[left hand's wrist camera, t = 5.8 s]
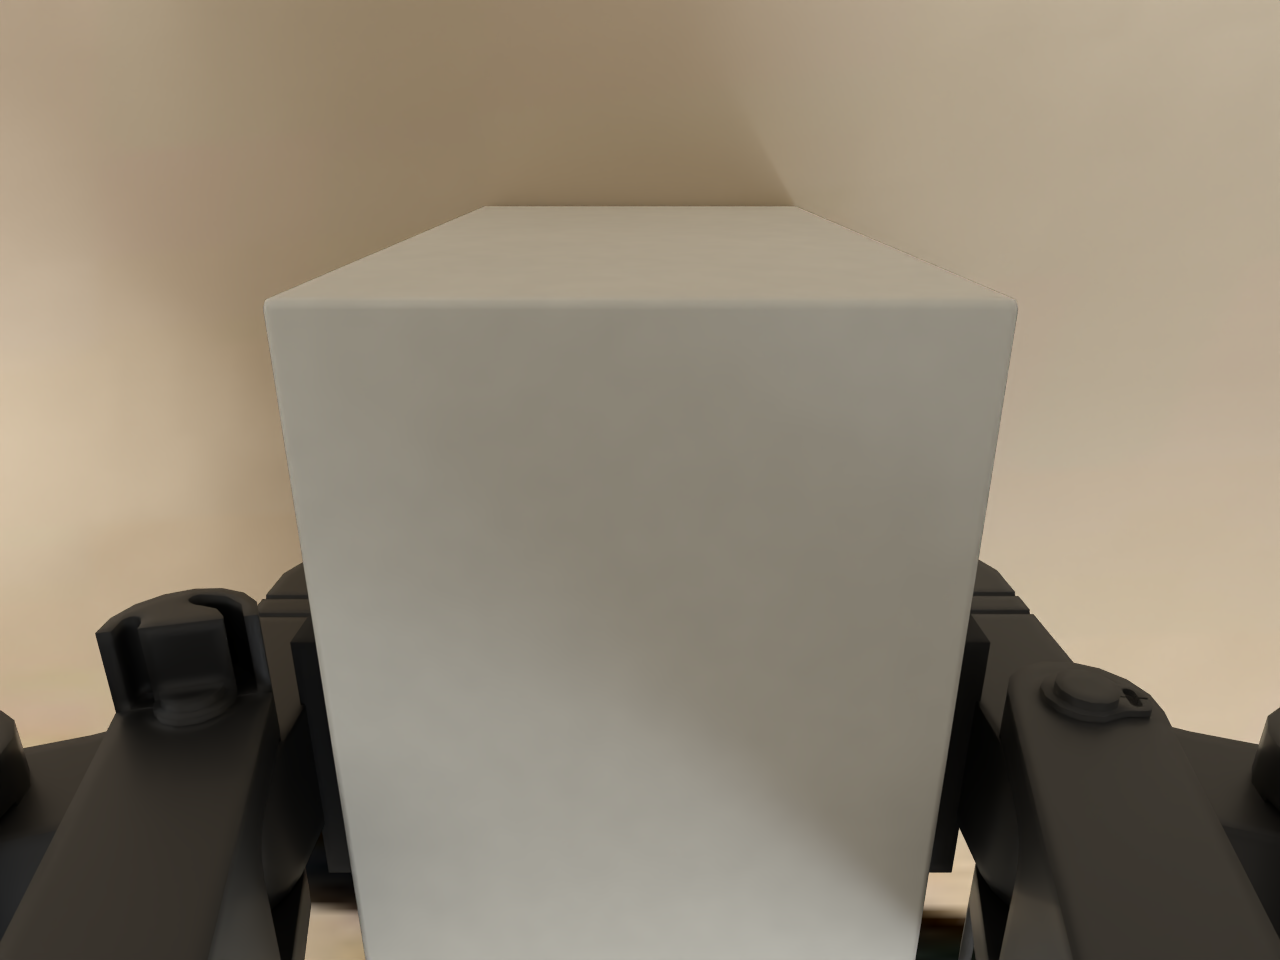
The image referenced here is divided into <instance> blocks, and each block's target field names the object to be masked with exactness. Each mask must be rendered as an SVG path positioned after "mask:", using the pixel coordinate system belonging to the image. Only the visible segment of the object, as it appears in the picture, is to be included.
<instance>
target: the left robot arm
mask: <svg viewBox="0 0 1280 960" xmlns="http://www.w3.org/2000/svg"><path fill="white" fill-rule="evenodd" d="M1029 611H1030V610H1029V608H1028V607H1027V606H1026V605H1025V604H1024V602H1023V601H1022V600H1021V599H1020V598H1019V596H1015V591H1014V590H1013V589H1012V588H1011V587H1010V585H1009V584H1008V583H1007V582H1006V581H1005V579H1004V578H1003V577H1002V576H1001V575H1000V573H999V572H998V571H997V570H995V569H994V568H992V567H990V566H989V565H987V564H985V563H983V562H982V561H980V560H978V565H977V571H976V578H975V584H974V590H973V597H972V603H971V609H970V616H969V622H968V628H967V635H966V641H965V647H964V654H963V660H962V666H961V673H960V679H959V685H958V692H957V698H956V704H955V710H954V717H953V723H952V729H951V736H950V742H949V748H948V755H947V761H946V767H945V774H944V780H943V786H942V793H941V799H940V805H939V812H938V818H937V824H936V831H935V837H934V843H933V850H932V856H931V862H930V869H929V872H952V867H953V861H954V855H955V849H956V843H957V837H958V831H959V828H960V830H961V832H962V834H963V837H964V839H965V841H966V843H967V845H968V847H969V849H970V852H971V854H972V856H973V858H974V860H975V862H976V864H975V870H974V875H973V881H972V886H971V892H970V897H969V903H968V908H967V914H966V919H965V925H964V930H963V936H962V941H961V947H960V954H959V960H971V957H972V952H973V947H974V948H975V957H976V960H1280V708H1278V709H1277V710H1276V711H1274V712H1273V713H1272V714H1270V715H1269V716H1268V717H1267V720H1266V724H1265V727H1264V730H1263V733H1262V736H1261V739H1260V743H1259V745H1258V744H1253V743H1247V742H1242V741H1237V740H1232V739H1226V738H1221V737H1216V736H1211V735H1205V734H1200V733H1195V732H1190V731H1186V730H1182V729H1178V728H1174V727H1172V726H1171V724H1170V722H1169V720H1168V718H1167V716H1166V714H1165V712H1164V711H1163V710H1162V709H1161V707H1160V706H1159V705H1158V704H1157V703H1156V701H1155V700H1154V699H1153V698H1152V697H1151V695H1150V694H1148V693H1146V692H1145V691H1143V690H1142V689H1140V688H1139V687H1137V686H1136V685H1134V684H1133V683H1131V682H1130V681H1128V680H1127V679H1124V678H1122V677H1119V676H1117V675H1114V674H1112V673H1109V672H1107V671H1104V670H1102V669H1099V668H1095V667H1091V666H1086V665H1081V664H1077V663H1073V661H1072V660H1071V659H1070V658H1069V657H1068V655H1067V654H1066V653H1065V652H1064V651H1063V649H1062V648H1061V647H1060V646H1059V645H1058V643H1057V642H1056V641H1055V640H1054V639H1053V637H1052V636H1051V635H1050V634H1049V632H1048V631H1047V630H1046V629H1045V628H1044V626H1043V625H1042V624H1041V623H1040V622H1039V620H1038V619H1037V618H1036V617H1035V616H1034V614H1030V612H1029ZM95 634H96V638H97V642H98V646H99V650H100V653H101V657H102V661H103V665H104V669H105V672H106V676H107V680H108V684H109V688H110V691H111V695H112V699H113V703H114V707H115V710H116V714H115V716H114V718H113V720H112V722H111V724H110V726H109V728H108V730H107V732H103V733H99V734H95V735H90V736H85V737H80V738H75V739H70V740H64V741H59V742H54V743H49V744H43V745H38V746H33V747H28V748H23V747H22V744H21V740H20V737H19V734H18V731H17V728H16V725H15V721H14V720H13V719H12V718H10V717H9V716H8V715H6V714H5V713H4V712H2V711H1V710H0V960H304V959H305V951H306V942H307V934H308V926H309V918H310V910H311V900H310V893H309V886H308V881H307V875H306V870H305V866H306V864H307V862H308V860H309V857H310V855H311V853H312V851H313V849H314V847H315V844H316V842H317V840H318V838H319V836H320V833H321V831H322V834H323V840H324V846H325V852H326V857H327V863H328V869H329V872H352V870H351V864H350V857H349V851H348V845H347V838H346V832H345V826H344V819H343V813H342V807H341V800H340V794H339V787H338V781H337V775H336V768H335V762H334V756H333V749H332V743H331V737H330V730H329V724H328V718H327V711H326V705H325V698H324V692H323V686H322V679H321V673H320V667H319V660H318V654H317V648H316V641H315V635H314V629H313V622H312V616H311V609H310V603H309V597H308V590H307V584H306V578H305V571H304V565H303V562H302V563H301V564H299V565H297V566H296V567H294V568H292V569H291V570H289V571H287V572H286V573H284V574H283V575H282V576H281V578H280V579H279V580H278V581H277V582H276V584H275V585H274V586H273V587H272V589H271V590H270V591H269V592H268V593H267V595H266V599H262V601H261V602H260V603H259V604H258V606H257V602H256V601H255V600H254V599H252V598H251V597H249V596H248V595H246V594H245V593H243V592H238V591H233V590H228V589H224V588H211V589H191V590H186V591H181V592H175V593H170V594H165V595H162V596H159V597H156V598H153V599H150V600H147V601H144V602H141V603H138V604H135V605H133V606H132V607H130V608H128V609H126V610H124V611H123V612H121V613H119V614H117V615H115V616H114V617H112V618H110V619H109V620H108V621H107V622H106V623H105V624H104V625H103V626H102V627H101V628H100V629H99V630H98V631H97V632H96V633H95Z"/></svg>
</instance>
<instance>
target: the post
mask: <svg viewBox="0 0 1280 960" xmlns="http://www.w3.org/2000/svg"><path fill="white" fill-rule="evenodd" d="M263 311H264V317H265V323H266V330H267V336H268V342H269V349H270V355H271V362H272V368H273V374H274V381H275V387H276V393H277V400H278V406H279V412H280V419H281V425H282V431H283V438H284V444H285V451H286V457H287V463H288V470H289V476H290V482H291V489H292V495H293V501H294V508H295V514H296V520H297V527H298V533H299V540H300V546H301V552H302V559H303V565H304V571H305V578H306V584H307V590H308V597H309V603H310V609H311V616H312V622H313V629H314V635H315V641H316V648H317V654H318V660H319V667H320V673H321V679H322V686H323V692H324V698H325V705H326V711H327V718H328V724H329V730H330V737H331V743H332V749H333V756H334V762H335V768H336V775H337V781H338V787H339V794H340V800H341V807H342V813H343V819H344V826H345V832H346V838H347V845H348V851H349V857H350V864H351V870H352V876H353V883H354V889H355V896H356V902H357V908H358V915H359V921H360V927H361V934H362V940H363V946H364V953H365V959H366V960H915V957H916V951H917V944H918V938H919V932H920V925H921V919H922V913H923V906H924V900H925V894H926V887H927V881H928V875H929V869H930V862H931V856H932V850H933V843H934V837H935V831H936V824H937V818H938V812H939V805H940V799H941V793H942V786H943V780H944V774H945V767H946V761H947V755H948V748H949V742H950V736H951V729H952V723H953V717H954V710H955V704H956V698H957V692H958V685H959V679H960V673H961V666H962V660H963V654H964V647H965V641H966V635H967V628H968V622H969V616H970V609H971V603H972V597H973V590H974V584H975V578H976V571H977V565H978V559H979V552H980V546H981V540H982V534H983V527H984V521H985V515H986V508H987V502H988V496H989V489H990V483H991V477H992V470H993V464H994V458H995V451H996V445H997V439H998V432H999V426H1000V420H1001V413H1002V407H1003V401H1004V394H1005V388H1006V382H1007V376H1008V369H1009V363H1010V357H1011V350H1012V344H1013V338H1014V331H1015V325H1016V319H1017V312H1018V306H1017V302H1016V300H1015V299H1013V298H1011V297H1009V296H1006V295H1004V294H1002V293H999V292H997V291H994V290H992V289H990V288H987V287H985V286H983V285H980V284H978V283H976V282H973V281H971V280H969V279H966V278H964V277H961V276H959V275H957V274H954V273H952V272H950V271H947V270H945V269H943V268H940V267H938V266H936V265H933V264H931V263H928V262H926V261H924V260H921V259H919V258H917V257H914V256H912V255H910V254H907V253H905V252H903V251H900V250H898V249H895V248H893V247H891V246H888V245H886V244H884V243H881V242H879V241H877V240H874V239H872V238H870V237H867V236H865V235H862V234H860V233H858V232H855V231H853V230H851V229H848V228H846V227H844V226H841V225H839V224H836V223H834V222H832V221H829V220H827V219H825V218H822V217H820V216H818V215H815V214H813V213H811V212H808V211H806V210H803V209H801V208H799V207H796V206H484V207H482V208H479V209H477V210H474V211H472V212H470V213H467V214H465V215H463V216H460V217H458V218H456V219H453V220H451V221H449V222H446V223H444V224H442V225H439V226H437V227H434V228H432V229H430V230H427V231H425V232H423V233H420V234H418V235H416V236H413V237H411V238H409V239H406V240H404V241H402V242H399V243H397V244H395V245H392V246H390V247H387V248H385V249H383V250H380V251H378V252H376V253H373V254H371V255H369V256H366V257H364V258H362V259H359V260H357V261H355V262H352V263H350V264H348V265H345V266H343V267H340V268H338V269H336V270H333V271H331V272H329V273H326V274H324V275H322V276H319V277H317V278H315V279H312V280H310V281H308V282H305V283H303V284H301V285H298V286H296V287H293V288H291V289H289V290H286V291H284V292H282V293H279V294H277V295H275V296H272V297H270V298H268V299H266V300H265V302H264V307H263Z"/></svg>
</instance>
